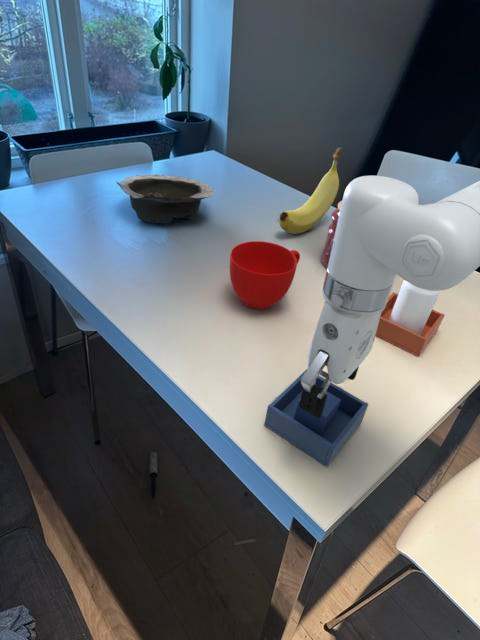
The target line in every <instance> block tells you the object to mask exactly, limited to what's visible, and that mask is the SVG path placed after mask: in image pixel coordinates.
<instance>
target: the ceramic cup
mask: <svg viewBox="0 0 480 640" xmlns="http://www.w3.org/2000/svg"><path fill="white" fill-rule="evenodd" d="M300 254H301V253H300V252H299V251H298V250H296V249H292V250H290V249H288V248H287V247H285V246H282V245H280V244H277V243H273V242H270V241H263V240H261V241H259V240H253V241H245V242H241V243H239V244H237V245H236V246H234V247H232V249H231V251H230V253H229V277H230V283H231V287H232V289H233V291H234V293H235V294H236V296H237V297H238V298H239V300H240V301H241V302H242V304H244V305H245V306H246V307H248V308H251V309H255V310H265V309H269V308H271V307H272V306H274V305H275V304H277V303H278V302H279V301H281V300H282V299H283V298H284V297H285V296H286V294H287V293H288V291H289V289H290V288H291V285H292V283H293V281H294V277H295V274H296V271H297V267H298V264H299V261H300V260H301V259H300V258H301V255H300Z"/></svg>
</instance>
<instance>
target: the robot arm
mask: <svg viewBox="0 0 480 640" xmlns="http://www.w3.org/2000/svg"><path fill="white" fill-rule="evenodd" d="M341 201H342V204H341V209H340V213H339V218H338V222H337V227H336V231H335V236H334V241H333V245H332V250H331V255H330V259H329V264H328V268H326V273H325V277H324V282H323V287H322V291H321V296H322V298H323V300H324V302H323V305H322V308H321V310H320V313H319V317H318V320H317V323H316V326H315V329H314V333H313V337H312V340H311V343H310V348H309V352H308V357H307V368H306V369H307V371H306V372H305V373H304V375H303V376H302V378H301V385H302V386H301V388H302V389H303V390H302V395H301V399H300V404H299V406H300V408H301V409H303V410H305V411H307V412H308V413H310V414H312V415H313V416H315V417H317V418H320V417H321V416H322V414H323V410H324V406H325V403H326V399H327V395H326V394H325V393H326V391H327V389H328V387H329V385H330V383H333V384H334V385H341V384H343V383H344V382H346V380H350V381H353V380H355V379H356V377H357V374H358V372H359V368H360V365H361V364H362V363H363V362H364V361H365V359H367V357H368V356H369V354H370V353H371V351H372V348H373V345H374V343H375V342H374V341H375V338H376V336H375V335H376V331H377V328H378V324H379V320H380V316H381V312H382V311H383V310H384V309H385V307H386V304H387V301H388V298H389V296H390V295H391V293H392V292H391V291H392V289H393V286H394V282H395V279H396V276H398V277H399V278H401V279H402V280H403V281H404V280H406V281H407V282H409V283H410V284H412V285H414V286H416V287H419V288H421V289H425V290H429V291H440V292H442V291H446V290H449V289H452V288H454V287H456V286H457V285H460V284H461V283H462V282H463V281H464V280H466V279H467V278H468V277H469V276H470V275H471V274H473V273H474V272H475V271H476V270H477V269H478V268H479V267H480V180H478V181H476V182H475V183H471V185H468V186H466V187H464V188H462V189H461V190H458V191H457V192H454V193H453V194H451V195H448V196H446V197H444V198H442V199H440V200H438V201H436V202H435V203H427V204H420V203H419V202H420V199H419V194H418V192H417V191H416V189H415V188H414V187H413V186H412V185H411V184H408V183H407V182H405V181H402V180H400V179H397V178H394V177H393V178H392V177H390V176H383V175H362V176H359V177H356V178H353V180H351V181H349V183H348V184H347V186H346V188H345V190H344V192H343V196H342V200H341ZM325 367H326V369H327V372H326V371H325V370H324V368H325ZM318 376H320V377H322V378H324V379H325V381H324V383H323V385H322V386H321V388H320V387H319V386H317V385H315V384H316V379H317V377H318Z"/></svg>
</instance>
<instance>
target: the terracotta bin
mask: <svg viewBox="0 0 480 640" xmlns="http://www.w3.org/2000/svg"><path fill="white" fill-rule="evenodd" d="M398 294H399V293H396V292H394V291H393V292H391V293H390V295H389V298H388V301H387V304H386V307H385V309H384V310H383V311H382V312H381V316H380V320H379V324H378V328H377V331H376V335H375V337H378V338H380V339H382V340H384V341H385V342H388V343H390V344H392V345H394V346H395V347H397V348H400V349H402V350H403V351H406V352H408V353H410V354H412V355H414V356H416V357H420V355H421V354H422V352H423V351H424V350H425V348H426V347H427V346H428V344H429V343H430V342H431V340H432V339H433V337H434V336H435V335H436V333H437V332H438V330H439V328H440V326H441V324H442V322H443V320H444V317H445V316H446V315H445V314H444V313H442V312H439V311H437V310H435V309H432V311H431V313H430V315H429V318H428V320H427V322H426V324H425V327H424V329H423V331H422V333H421V335H419V334H417V333H415V332H413V331H411V330H408V329H406V328H404V327H402V326H400V325H398V324H396V323H394V322H391V321H389V318H390V315H391V313H392V310H393V307H394V305H395V302H396V299H397V297H398Z"/></svg>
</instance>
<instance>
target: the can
mask: <svg viewBox="0 0 480 640" xmlns="http://www.w3.org/2000/svg"><path fill="white" fill-rule="evenodd" d="M440 292H441V291H429V290H425V289H421V288H419V287H416V286H414V285H412V284H410V283H409V282H407V281H406V280H404V279H403V282H402V284H401V287H400V289H399V292H398V293H397V294H398V297H397V299H396V302H395V305H394V307H393V310H392V313H391V315H390V318H389V321H391V322H394V323H396V324H398V325H400V326H402V327H404V328H406V329H408V330H411V331H413V332H415V333H417V334H419V335H421V333H422V331H423V329H424V327H425V324H426V322H427V320H428V318H429V315H430V313H431V311H432V309H433V308H434V307H435V304H436V302H437V299H438V297H439V294H440ZM433 310H434V309H433Z"/></svg>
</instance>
